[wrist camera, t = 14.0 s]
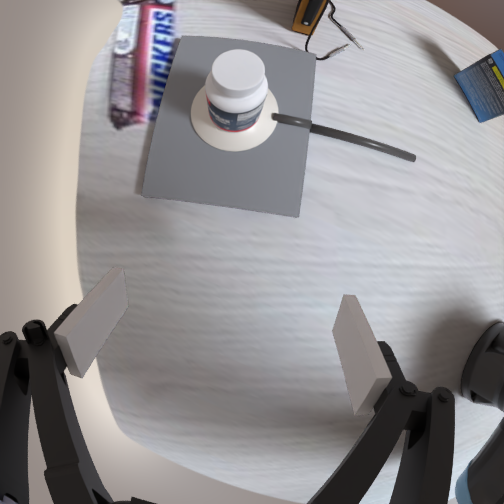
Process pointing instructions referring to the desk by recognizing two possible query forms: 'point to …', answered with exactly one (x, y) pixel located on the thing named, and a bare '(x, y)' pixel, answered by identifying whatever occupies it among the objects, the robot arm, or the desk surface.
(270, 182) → the board
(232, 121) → the pill bottle
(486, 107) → the label tape cartridge
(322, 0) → the multimeter
